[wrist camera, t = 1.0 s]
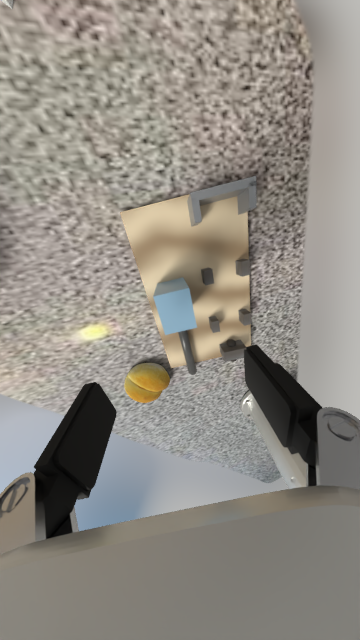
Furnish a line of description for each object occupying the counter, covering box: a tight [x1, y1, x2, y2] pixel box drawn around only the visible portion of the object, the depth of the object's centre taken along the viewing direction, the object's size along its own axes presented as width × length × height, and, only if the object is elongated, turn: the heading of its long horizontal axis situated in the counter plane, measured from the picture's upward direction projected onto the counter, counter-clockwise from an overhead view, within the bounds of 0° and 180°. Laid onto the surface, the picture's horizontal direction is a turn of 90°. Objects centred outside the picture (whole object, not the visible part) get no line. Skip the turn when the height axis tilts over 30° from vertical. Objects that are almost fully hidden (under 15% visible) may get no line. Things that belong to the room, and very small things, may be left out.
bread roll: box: [124, 363, 170, 403], centre depth 30 cm, size 8×9×4 cm
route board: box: [120, 194, 252, 368], centre depth 23 cm, size 27×16×3 cm, turn 13°
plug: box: [153, 277, 197, 375], centre depth 23 cm, size 18×4×7 cm, turn 13°
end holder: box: [187, 176, 256, 227], centre depth 18 cm, size 3×7×3 cm, turn 103°
